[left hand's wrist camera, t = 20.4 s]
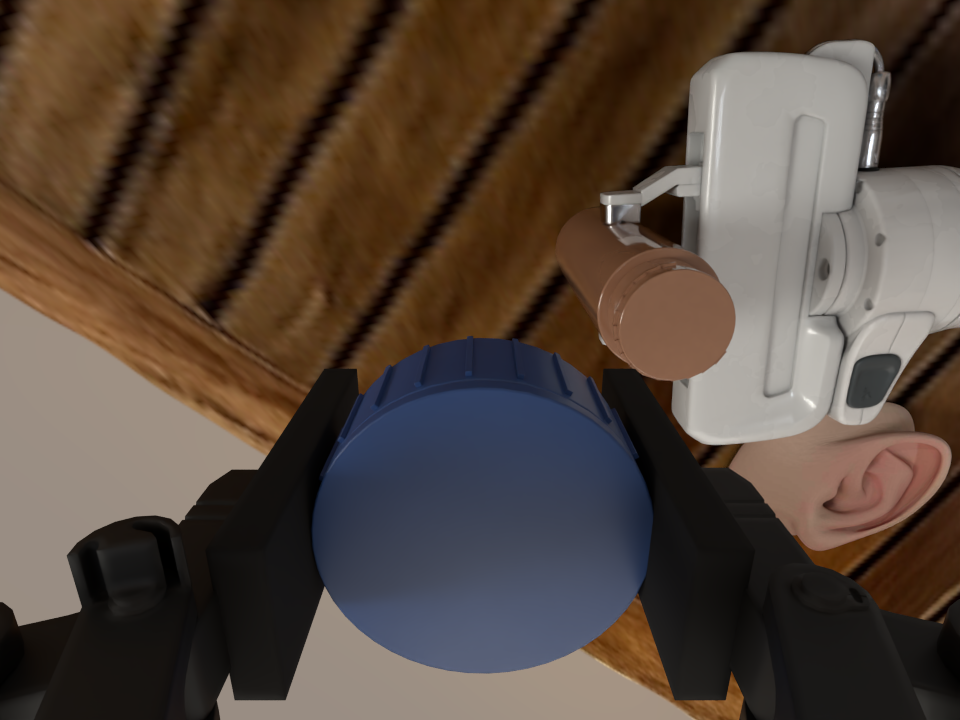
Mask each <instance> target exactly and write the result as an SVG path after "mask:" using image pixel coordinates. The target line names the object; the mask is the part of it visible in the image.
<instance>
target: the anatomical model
mask: <svg viewBox="0 0 960 720" xmlns="http://www.w3.org/2000/svg"><path fill="white" fill-rule="evenodd" d="M950 464H951V450H950V447H949V445H948V444H947V443H946V442H945V441H944V440H943V439H941V438H940V437H938V436H935V435H932V434H928V433H924V432H916V431H915V429H914V423H913V419H912V417H911V415H910V413H909V412H908V411H907V410H906V409H905V408H904V407H902V406H900V405H897V404H894V403H889V402H885V403H884V405H883V407H882V409H881V411H880V412H879V414H878V415H877V416H876V418H875V419H874V420H872V421H871V422H869V423H867V424H863V425H844V424H841V423H840V422H838V421H836V420H834V419H832V418H831V417H829V416H827V415H826V416H825V417H824V418H823V419H822V420H821V422H819V423H818V424H817V425H816V426H814V427H813V428H811V429H810V430H808V431H805V432H803V433H800V434H797V435H794V436H789V437H784V438H779V439H772V440H765V441H758V442H749V443H744V444H743V445H742V447H741V448H740V449H739V451H738V453H737V454H736V456H735V457H734V459H733V460H732V462H731V464H730V466H729V468H730V469H731V470H733V471H734V472H736V473H737V474H739V475H740V476H742V477H743V478H745V479H746V480H748V481H749V482H751V483H752V484H753V486H754V487H755V488H756V490H757V491H758V492H759V493H760V495H761V496H762V497H763V499H764V502H765V503H767V504H768V505H769V506H770V508H771V509H772V510H773V511H774V513H775V514H776V518H779V519H780V520H781V522H782V523H783V524H784V526H785V527H786V528H787V530H788V531H789V532H790V533H791V535H798V537H799V538H800V540H801V541H802V542H803V543H804V544H805V545H806V546H807V547H809V548H810V549H813V550H816V551H823V550H827V549H831V548H834V547H837V546H840V545H843V544H845V543H848V542H851V541H854V540H857V539H860V538H862V537H865V536H868V535H871V534H874V533H876V532H879V531H881V530H884V529H886V528H889V527H891V526H893V525H895V524H897V523H899V522H901V521H902V520H904V519H906V518H907V517H909V516H910V515H912V514H913V513H914V512H915V511H917V510H918V509H919V508H920V507H921V506H923V505H924V504H925V503H926V502H927V501H928V500H929V499H930V498H931V497H932V496H933V495H934V494H935V493H936V491H937V490H938V489H939V487H940V486H941V484H942V483H943V481H944V480H945V477H946V475H947V473H948V470H949V467H950Z"/></svg>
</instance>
